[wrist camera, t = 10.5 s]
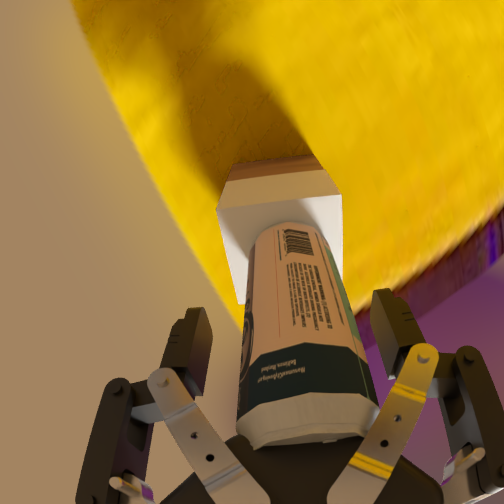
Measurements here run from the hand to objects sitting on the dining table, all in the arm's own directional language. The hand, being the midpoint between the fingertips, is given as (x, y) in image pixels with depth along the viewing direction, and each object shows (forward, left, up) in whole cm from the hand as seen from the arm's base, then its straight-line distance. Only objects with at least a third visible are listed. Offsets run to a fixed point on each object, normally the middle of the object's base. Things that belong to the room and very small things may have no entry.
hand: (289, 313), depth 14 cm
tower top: (0, 0, -10) cm, 10 cm away
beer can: (0, 0, -5) cm, 5 cm away
